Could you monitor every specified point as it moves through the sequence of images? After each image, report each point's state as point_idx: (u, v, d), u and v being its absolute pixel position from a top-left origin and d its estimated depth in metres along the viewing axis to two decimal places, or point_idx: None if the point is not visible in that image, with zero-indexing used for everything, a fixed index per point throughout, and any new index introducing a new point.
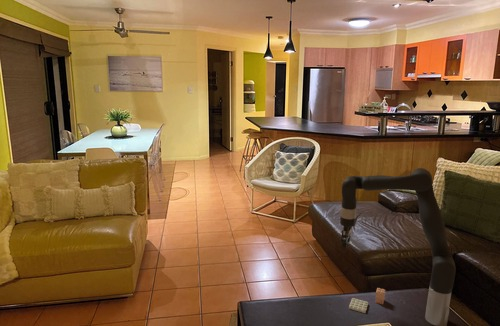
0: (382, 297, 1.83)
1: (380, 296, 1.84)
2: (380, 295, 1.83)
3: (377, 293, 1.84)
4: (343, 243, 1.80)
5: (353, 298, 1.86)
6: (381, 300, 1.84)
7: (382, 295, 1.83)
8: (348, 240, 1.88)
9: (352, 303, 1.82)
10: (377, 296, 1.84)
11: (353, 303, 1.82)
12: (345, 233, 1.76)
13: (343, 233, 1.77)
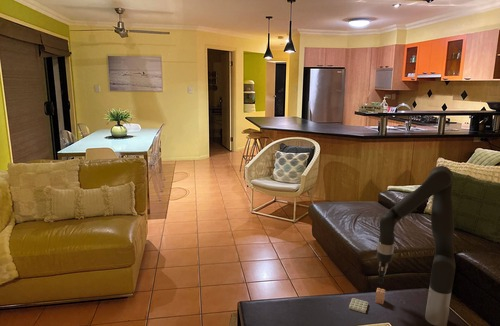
0: (382, 297, 1.83)
1: (380, 296, 1.84)
2: (380, 295, 1.83)
3: (377, 293, 1.84)
4: (380, 278, 1.78)
5: (353, 298, 1.86)
6: (381, 300, 1.84)
7: (382, 295, 1.83)
8: (383, 274, 1.86)
9: (352, 303, 1.82)
10: (377, 296, 1.84)
11: (353, 303, 1.82)
12: (383, 269, 1.75)
13: (381, 269, 1.75)
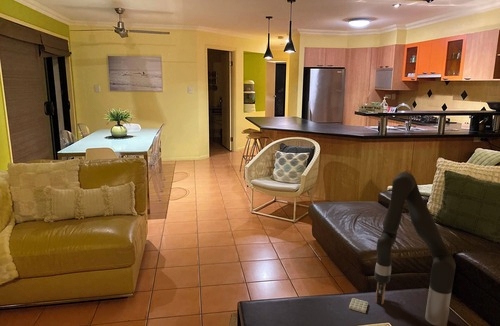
0: (382, 297, 1.83)
1: None
2: None
3: None
4: (378, 298, 1.83)
5: (353, 298, 1.86)
6: None
7: (382, 295, 1.83)
8: None
9: (352, 303, 1.82)
10: None
11: (353, 303, 1.82)
12: (381, 292, 1.78)
13: (378, 292, 1.79)
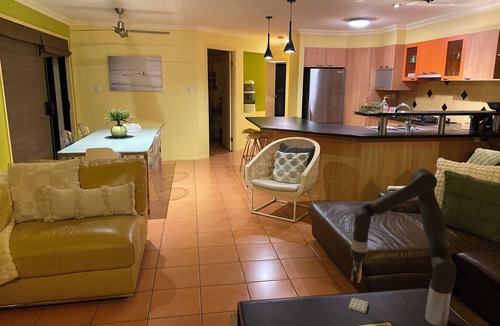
0: (358, 275, 1.75)
1: None
2: None
3: None
4: (354, 276, 1.75)
5: (353, 298, 1.86)
6: None
7: None
8: None
9: (352, 303, 1.82)
10: None
11: (353, 303, 1.82)
12: (356, 269, 1.70)
13: (354, 269, 1.70)
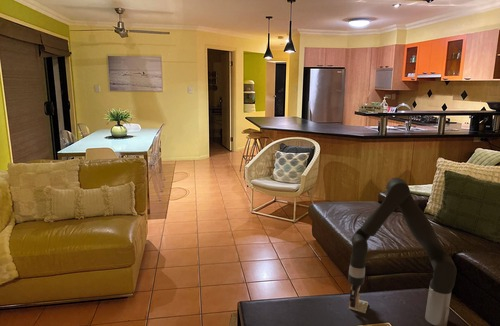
0: (356, 300, 1.78)
1: None
2: None
3: None
4: (352, 302, 1.76)
5: None
6: (355, 304, 1.78)
7: (356, 298, 1.77)
8: None
9: None
10: None
11: None
12: (354, 293, 1.72)
13: (352, 293, 1.72)
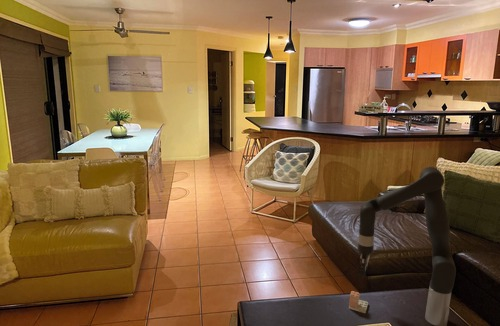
0: (356, 300, 1.78)
1: (354, 299, 1.78)
2: (354, 298, 1.78)
3: (351, 296, 1.78)
4: (362, 271, 1.75)
5: None
6: (355, 304, 1.78)
7: (356, 298, 1.77)
8: (366, 266, 1.83)
9: None
10: (351, 299, 1.79)
11: None
12: (364, 261, 1.71)
13: (362, 261, 1.72)
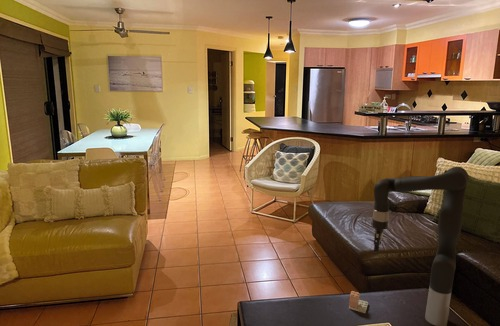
0: (356, 300, 1.78)
1: (354, 299, 1.78)
2: (354, 298, 1.78)
3: (351, 296, 1.78)
4: (376, 246, 1.79)
5: None
6: (355, 304, 1.78)
7: (356, 298, 1.77)
8: (379, 243, 1.87)
9: None
10: (351, 299, 1.79)
11: None
12: (378, 236, 1.75)
13: (376, 236, 1.76)
